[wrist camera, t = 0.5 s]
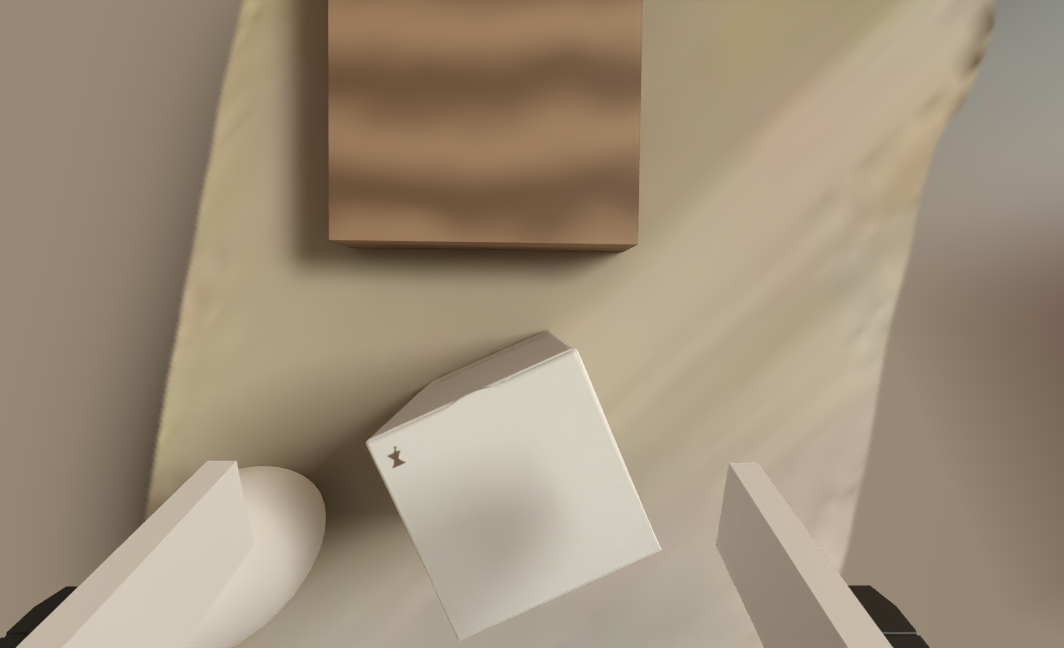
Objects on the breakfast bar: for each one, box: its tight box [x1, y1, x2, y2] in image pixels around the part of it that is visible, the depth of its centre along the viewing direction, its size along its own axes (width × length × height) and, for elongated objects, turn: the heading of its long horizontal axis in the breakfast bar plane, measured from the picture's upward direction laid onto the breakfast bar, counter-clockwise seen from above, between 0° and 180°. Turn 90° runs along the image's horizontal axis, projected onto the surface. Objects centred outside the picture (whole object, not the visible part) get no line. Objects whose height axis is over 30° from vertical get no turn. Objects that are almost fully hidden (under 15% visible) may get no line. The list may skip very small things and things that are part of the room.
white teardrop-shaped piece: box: [183, 466, 326, 648], centre depth 25 cm, size 8×8×18 cm
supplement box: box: [366, 331, 661, 641], centre depth 27 cm, size 9×9×15 cm
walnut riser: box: [328, 0, 643, 251], centre depth 31 cm, size 18×18×4 cm
